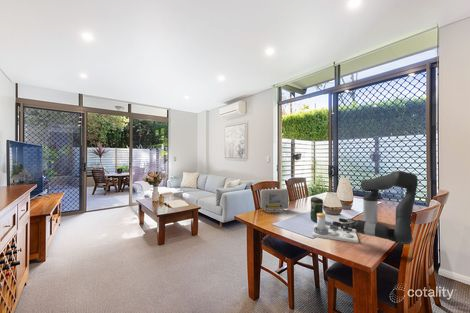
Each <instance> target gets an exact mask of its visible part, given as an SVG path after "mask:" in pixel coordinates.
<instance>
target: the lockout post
mask: <svg viewBox="0 0 470 313" xmlns="http://www.w3.org/2000/svg"><path fill="white" fill-rule="evenodd" d="M326 216H327V215H326V214H325V213H324V212H323V213H317V222H316V224H317V230H318V231H325V222H326Z"/></svg>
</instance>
